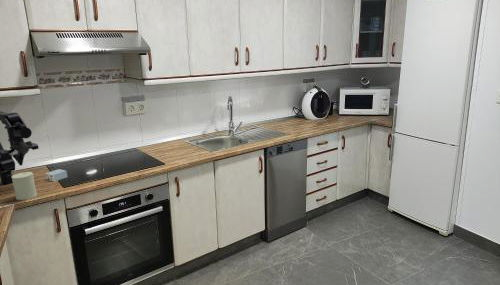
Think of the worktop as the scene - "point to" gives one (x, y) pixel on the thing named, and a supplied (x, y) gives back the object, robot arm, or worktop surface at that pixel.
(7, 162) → the robot arm
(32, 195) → the can
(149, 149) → the worktop surface
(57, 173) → the light blue box
